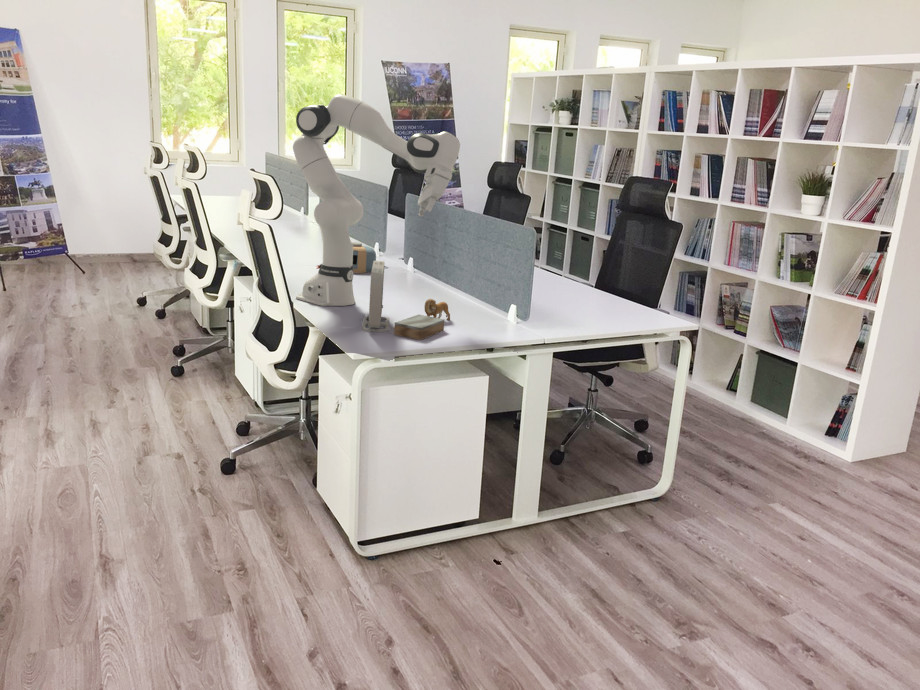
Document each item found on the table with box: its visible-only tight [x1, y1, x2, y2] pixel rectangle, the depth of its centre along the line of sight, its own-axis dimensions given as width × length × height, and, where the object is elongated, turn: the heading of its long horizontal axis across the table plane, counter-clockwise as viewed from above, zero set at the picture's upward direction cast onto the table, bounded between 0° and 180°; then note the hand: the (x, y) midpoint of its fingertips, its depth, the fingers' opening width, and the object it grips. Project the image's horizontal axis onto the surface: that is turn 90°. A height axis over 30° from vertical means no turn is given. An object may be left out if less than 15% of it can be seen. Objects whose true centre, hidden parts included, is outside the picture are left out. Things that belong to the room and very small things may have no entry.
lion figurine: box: [424, 298, 451, 321], centre depth 282 cm, size 15×5×9 cm, turn 152°
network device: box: [361, 260, 390, 333], centre depth 269 cm, size 26×9×20 cm, turn 4°
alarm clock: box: [351, 241, 377, 274], centre depth 369 cm, size 19×20×12 cm
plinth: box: [393, 314, 446, 341], centre depth 265 cm, size 10×16×4 cm, turn 153°
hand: (424, 213), depth 278 cm, fingers open, 8 cm apart
